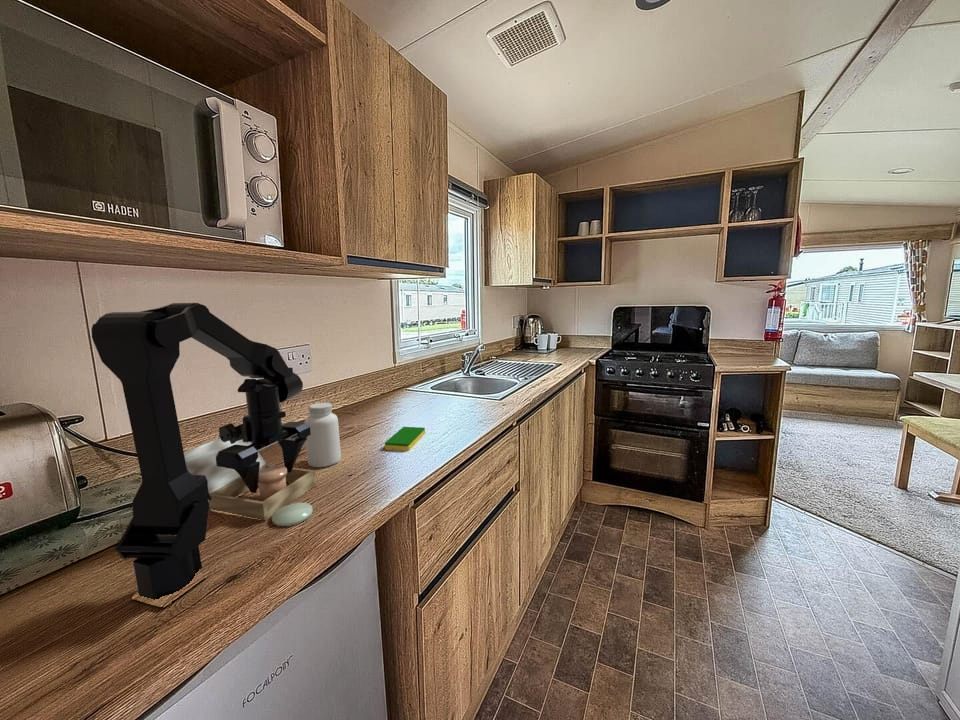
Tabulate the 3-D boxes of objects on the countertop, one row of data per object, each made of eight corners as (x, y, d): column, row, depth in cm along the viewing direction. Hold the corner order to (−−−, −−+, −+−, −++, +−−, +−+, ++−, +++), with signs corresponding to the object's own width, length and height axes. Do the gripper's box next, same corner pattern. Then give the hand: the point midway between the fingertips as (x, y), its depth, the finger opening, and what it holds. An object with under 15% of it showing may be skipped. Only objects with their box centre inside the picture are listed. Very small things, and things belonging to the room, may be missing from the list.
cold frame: (264, 521, 72) (258, 464, 70) (184, 507, 77) (176, 454, 75) (316, 485, 86) (312, 437, 84) (245, 475, 91) (239, 429, 89)
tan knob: (274, 508, 76) (271, 480, 76) (251, 504, 78) (248, 476, 77) (295, 493, 82) (293, 467, 81) (273, 490, 84) (270, 464, 83)
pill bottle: (340, 453, 103) (336, 399, 101) (341, 465, 96) (337, 407, 93) (308, 458, 100) (303, 403, 98) (307, 470, 93) (301, 411, 91)
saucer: (294, 529, 69) (294, 525, 69) (263, 523, 71) (263, 519, 71) (320, 508, 76) (320, 505, 76) (291, 504, 78) (290, 500, 78)
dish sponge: (384, 451, 105) (383, 442, 105) (403, 433, 119) (403, 426, 118) (408, 452, 104) (408, 444, 104) (425, 434, 117) (425, 427, 117)
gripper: (268, 395, 88) (275, 459, 90) (187, 420, 70) (199, 499, 73) (309, 398, 85) (315, 464, 87) (235, 425, 67) (245, 507, 70)
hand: (272, 481), depth 79 cm, fingers open, 9 cm apart
